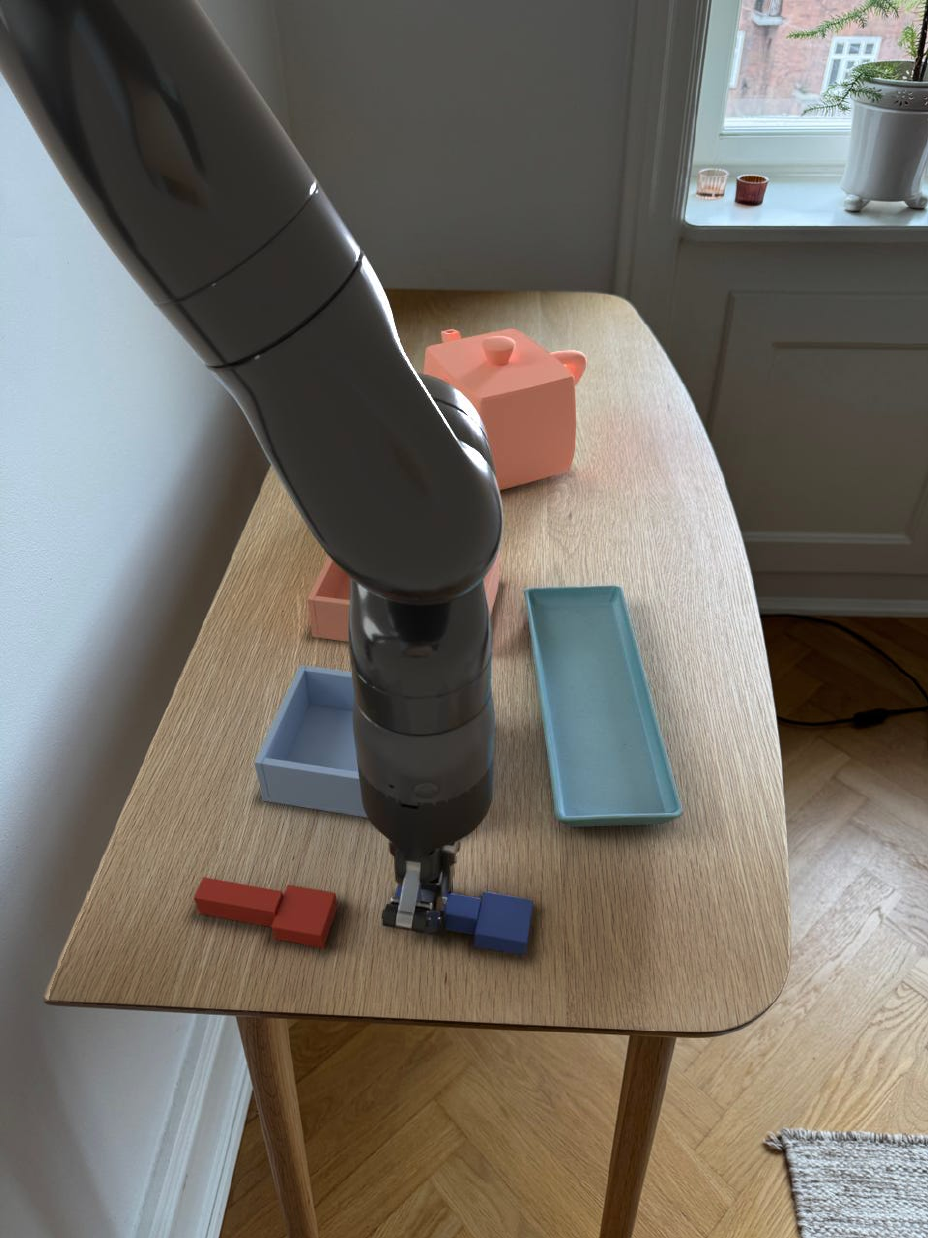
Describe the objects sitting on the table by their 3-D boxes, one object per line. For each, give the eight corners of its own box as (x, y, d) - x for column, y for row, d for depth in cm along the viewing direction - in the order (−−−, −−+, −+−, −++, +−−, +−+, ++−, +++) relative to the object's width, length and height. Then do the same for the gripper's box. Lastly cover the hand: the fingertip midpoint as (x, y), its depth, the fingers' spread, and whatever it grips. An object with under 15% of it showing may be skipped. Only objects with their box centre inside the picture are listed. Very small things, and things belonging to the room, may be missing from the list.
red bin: (312, 637, 82) (306, 598, 79) (345, 567, 89) (341, 530, 86) (479, 659, 80) (479, 621, 77) (498, 586, 87) (499, 549, 84)
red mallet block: (194, 924, 61) (188, 908, 60) (213, 883, 63) (207, 866, 62) (323, 948, 60) (320, 933, 58) (338, 905, 62) (335, 889, 61)
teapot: (613, 465, 103) (627, 349, 94) (436, 515, 96) (433, 394, 87) (527, 389, 117) (532, 281, 107) (366, 428, 109) (357, 316, 100)
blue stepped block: (390, 931, 61) (389, 915, 59) (402, 889, 63) (401, 873, 62) (525, 956, 59) (526, 940, 58) (532, 912, 62) (533, 896, 60)
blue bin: (262, 800, 68) (253, 762, 66) (306, 702, 76) (299, 664, 73) (461, 833, 66) (461, 795, 63) (486, 729, 74) (487, 690, 71)
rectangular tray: (522, 604, 85) (523, 583, 84) (619, 601, 86) (622, 580, 84) (553, 841, 66) (555, 820, 64) (679, 836, 66) (685, 816, 64)
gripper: (389, 648, 55) (402, 820, 67) (319, 836, 45) (349, 1001, 57) (513, 665, 54) (504, 837, 65) (469, 861, 44) (468, 1024, 55)
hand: (432, 913), depth 61 cm, fingers closed on blue stepped block, 1 cm apart
